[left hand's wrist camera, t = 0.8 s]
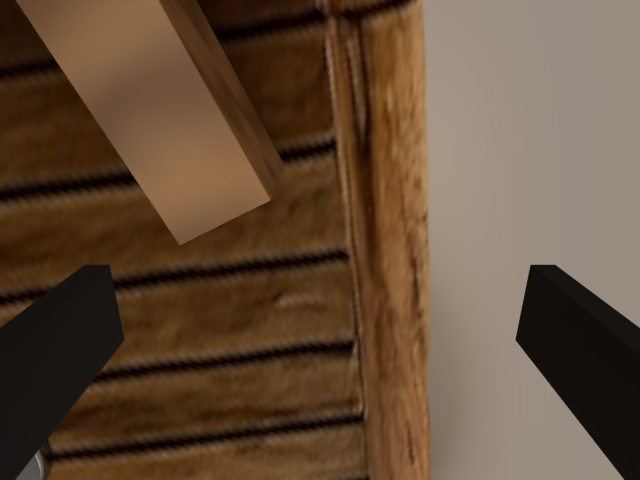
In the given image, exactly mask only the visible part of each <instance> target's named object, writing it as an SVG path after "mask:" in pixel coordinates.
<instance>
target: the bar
mask: <svg viewBox="0 0 640 480" xmlns="http://www.w3.org/2000/svg"><path fill="white" fill-rule="evenodd" d="M16 1H17V3H18V4H19V6H20V7H21V9H22V10H23V12H24V13H25V15H26V16H27V18H28V19H29V21H30V22H31V24H32V25H33V27H34V28H35V30H36V31H37V33H38V34H39V36H40V37H41V39H42V40H43V42H44V43H45V45H46V46H47V48H48V49H49V51H50V52H51V54H52V55H53V57H54V58H55V60H56V61H57V63H58V64H59V66H60V67H61V69H62V70H63V72H64V73H65V75H66V76H67V78H68V79H69V81H70V82H71V84H72V85H73V87H74V88H75V90H76V91H77V93H78V94H79V96H80V97H81V99H82V100H83V102H84V103H85V105H86V106H87V108H88V109H89V111H90V112H91V113H92V115H93V116H94V118H95V119H96V121H97V122H98V124H99V125H100V127H101V128H102V130H103V131H104V133H105V134H106V136H107V137H108V139H109V140H110V142H111V143H112V145H113V146H114V148H115V149H116V151H117V152H118V154H119V155H120V157H121V158H122V160H123V161H124V163H125V164H126V166H127V167H128V169H129V170H130V172H131V173H132V175H133V176H134V178H135V179H136V181H137V182H138V184H139V185H140V187H141V188H142V190H143V191H144V193H145V194H146V196H147V197H148V199H149V200H150V202H151V203H152V205H153V206H154V208H155V209H156V211H157V212H158V214H159V215H160V217H161V218H162V220H163V221H164V223H165V224H166V226H167V227H168V228H169V230H170V231H171V233H172V234H173V236H174V237H175V239H176V240H177V242H178V243H179V245H182V244H184V243H186V242H188V241H190V240H192V239H194V238H196V237H198V236H200V235H202V234H204V233H206V232H208V231H210V230H212V229H214V228H216V227H218V226H220V225H222V224H224V223H226V222H228V221H230V220H232V219H234V218H236V217H238V216H240V215H242V214H244V213H246V212H248V211H250V210H252V209H254V208H256V207H258V206H260V205H262V204H264V203H266V202H268V201H270V200H271V198H272V195H273V193H274V191H275V189H276V187H277V184H278V182H279V180H280V178H281V175H282V173H283V171H284V169H285V166H284V164H283V162H282V160H281V158H280V156H279V154H278V152H277V150H276V149H275V147H274V145H273V143H272V141H271V139H270V137H269V135H268V134H267V132H266V130H265V128H264V126H263V124H262V122H261V120H260V119H259V117H258V115H257V113H256V111H255V109H254V107H253V105H252V103H251V102H250V100H249V98H248V96H247V94H246V92H245V90H244V88H243V87H242V85H241V83H240V81H239V79H238V77H237V75H236V73H235V72H234V70H233V68H232V66H231V64H230V62H229V60H228V58H227V56H226V55H225V53H224V51H223V49H222V47H221V45H220V43H219V41H218V40H217V38H216V36H215V34H214V32H213V30H212V28H211V26H210V25H209V23H208V21H207V19H206V17H205V15H204V13H203V11H202V9H201V8H200V6H199V4H198V2H197V0H16Z"/></svg>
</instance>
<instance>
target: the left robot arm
mask: <svg viewBox="0 0 640 480" xmlns="http://www.w3.org/2000/svg"><path fill="white" fill-rule="evenodd" d="M123 341H124V335H123V330H122V325H121V320H120V315H119V310H118V305H117V300H116V295H115V290H114V285H113V280H112V275H111V270H110V265H84V266H83V267H81V268H80V269H79V270H77V271H76V272H75V273H73V274H72V275H71V276H69V277H68V278H67V279H65V280H64V281H63V282H61V283H60V284H59V285H57V286H56V287H54V288H53V289H52V290H50V291H49V292H48V293H46V294H45V295H44V296H42V297H41V298H40V299H38V300H37V301H36V302H34V303H33V304H32V305H30V306H29V307H28V308H26V309H25V310H24V311H22V312H21V313H20V314H18V315H17V316H16V317H14V318H13V319H12V320H10V321H9V322H8V323H6V324H5V325H4V326H2V327H1V328H0V480H47V478H48V476H49V474H50V470H51V453H50V449H49V446H48V444H47V441H46V440H47V439H48V437H49V436H50V435H51V434H52V432H53V431H54V430H55V428H56V427H57V426H58V425H59V423H60V422H61V421H62V419H63V418H64V417H65V416H66V414H67V413H68V412H69V411H70V409H71V408H72V407H73V405H74V404H75V403H76V402H77V400H78V399H79V398H80V396H81V395H82V394H83V393H84V391H85V390H86V389H87V387H88V386H89V385H90V384H91V382H92V381H93V380H94V378H95V377H96V376H97V375H98V373H99V372H100V371H101V369H102V368H103V367H104V366H105V364H106V363H107V362H108V360H109V359H110V358H111V357H112V355H113V354H114V353H115V352H116V350H117V349H118V348H119V346H120V345H121V344H122V343H123ZM516 341H517V343H518V344H519V345H520V346H521V348H522V349H523V350H524V351H525V353H526V354H527V355H528V357H529V358H530V359H531V360H532V362H533V363H534V364H535V366H536V367H537V368H538V369H539V371H540V372H541V373H542V375H543V376H544V377H545V378H546V380H547V381H548V382H549V384H550V385H551V386H552V387H553V389H554V390H555V391H556V393H557V394H558V395H559V396H560V398H561V399H562V400H563V401H564V403H565V404H566V405H567V407H568V408H569V409H570V410H571V412H572V413H573V414H574V416H575V417H576V418H577V419H578V421H579V422H580V423H581V425H582V426H583V427H584V428H585V430H586V431H587V432H588V434H589V435H590V436H591V437H592V439H593V440H594V441H595V443H596V444H597V445H598V446H599V448H600V449H601V450H602V452H603V453H604V454H605V455H606V457H607V458H608V459H609V460H610V462H611V463H612V464H613V466H614V467H615V468H616V470H617V471H618V472H619V473H620V475H621V476H622V477H623V478H624V480H640V328H639V327H638V326H636V325H635V324H634V323H632V322H631V321H630V320H628V319H627V318H626V317H624V316H623V315H622V314H620V313H619V312H618V311H616V310H615V309H614V308H612V307H611V306H610V305H608V304H607V303H606V302H604V301H603V300H602V299H600V298H599V297H598V296H596V295H595V294H594V293H592V292H591V291H589V290H588V289H587V288H585V287H584V286H583V285H581V284H580V283H579V282H577V281H576V280H575V279H573V278H572V277H571V276H569V275H568V274H567V273H565V272H564V271H563V270H561V269H560V268H559V267H557V266H556V265H530V270H529V275H528V280H527V285H526V290H525V295H524V300H523V305H522V310H521V315H520V320H519V325H518V330H517V335H516Z"/></svg>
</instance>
